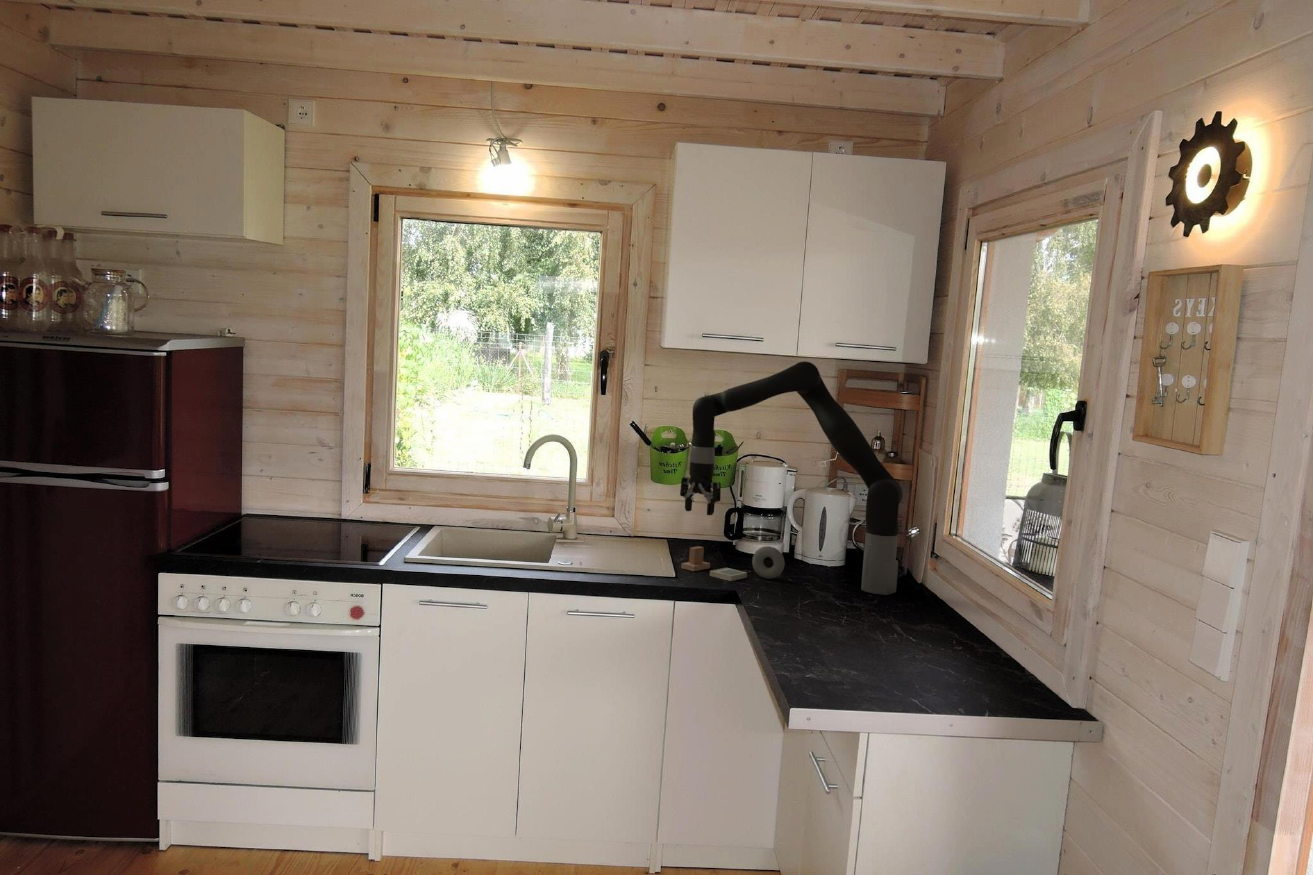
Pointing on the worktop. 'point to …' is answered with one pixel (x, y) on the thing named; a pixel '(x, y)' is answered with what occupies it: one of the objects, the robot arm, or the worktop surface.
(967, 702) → the worktop surface
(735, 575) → the control panel
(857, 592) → the worktop surface
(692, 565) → the stub
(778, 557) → the donut
